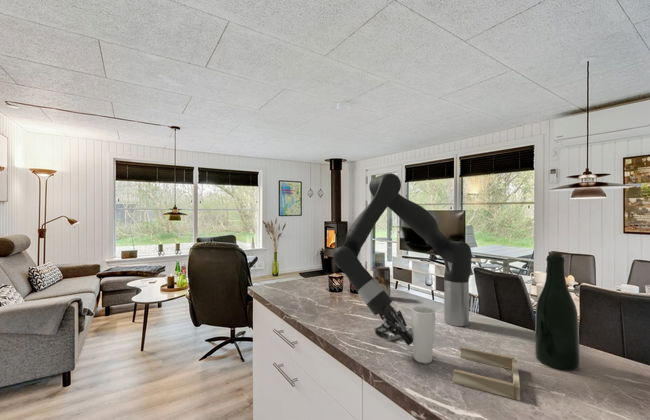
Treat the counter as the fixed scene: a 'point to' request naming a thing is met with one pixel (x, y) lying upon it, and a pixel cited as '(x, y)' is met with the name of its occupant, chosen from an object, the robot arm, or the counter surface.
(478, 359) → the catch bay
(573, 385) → the counter surface
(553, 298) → the beer bottle
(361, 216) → the robot arm
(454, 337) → the counter surface
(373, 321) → the counter surface
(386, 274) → the coffee box
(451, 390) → the counter surface
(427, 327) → the drinking glass
